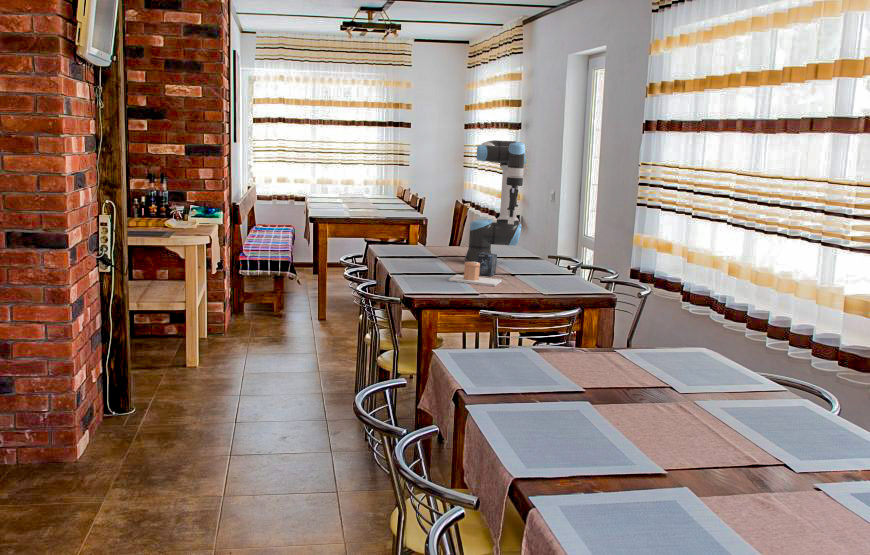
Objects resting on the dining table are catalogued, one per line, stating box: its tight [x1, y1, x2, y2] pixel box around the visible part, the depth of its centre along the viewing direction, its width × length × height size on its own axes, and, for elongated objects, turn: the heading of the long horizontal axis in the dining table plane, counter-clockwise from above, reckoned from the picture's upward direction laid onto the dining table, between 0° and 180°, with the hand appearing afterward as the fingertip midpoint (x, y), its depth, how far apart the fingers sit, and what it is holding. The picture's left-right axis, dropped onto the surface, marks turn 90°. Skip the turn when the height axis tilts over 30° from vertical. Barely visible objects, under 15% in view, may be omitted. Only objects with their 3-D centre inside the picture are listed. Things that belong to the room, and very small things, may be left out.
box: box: [477, 252, 498, 277], centre depth 411 cm, size 8×6×11 cm
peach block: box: [463, 262, 480, 280], centre depth 393 cm, size 7×7×8 cm
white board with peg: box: [448, 274, 503, 287], centre depth 393 cm, size 13×22×6 cm, turn 72°
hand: (511, 222), depth 397 cm, fingers open, 13 cm apart
